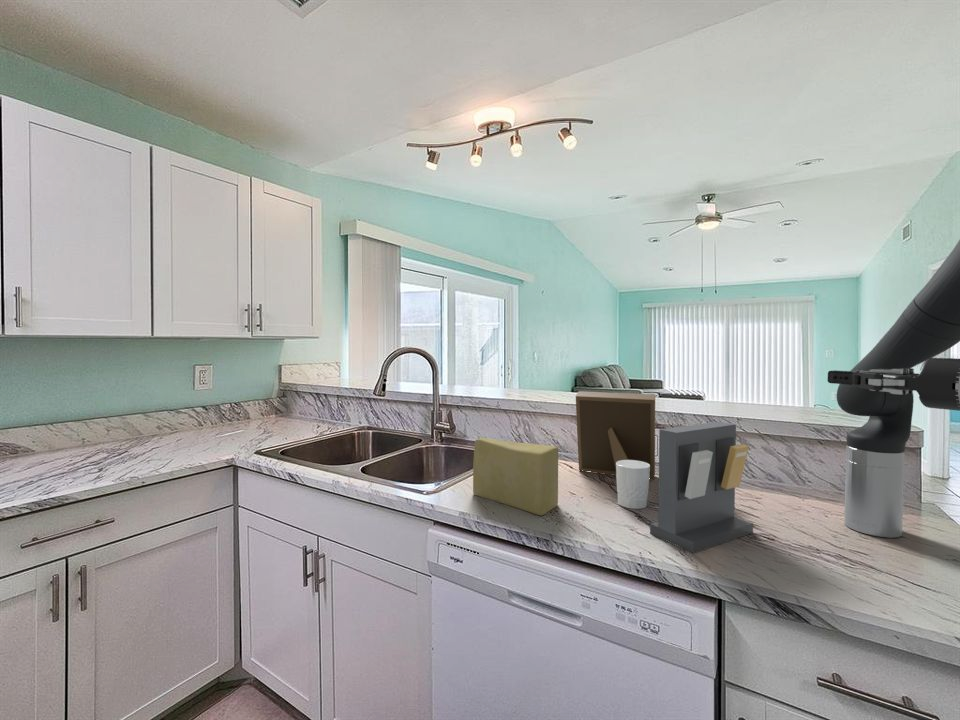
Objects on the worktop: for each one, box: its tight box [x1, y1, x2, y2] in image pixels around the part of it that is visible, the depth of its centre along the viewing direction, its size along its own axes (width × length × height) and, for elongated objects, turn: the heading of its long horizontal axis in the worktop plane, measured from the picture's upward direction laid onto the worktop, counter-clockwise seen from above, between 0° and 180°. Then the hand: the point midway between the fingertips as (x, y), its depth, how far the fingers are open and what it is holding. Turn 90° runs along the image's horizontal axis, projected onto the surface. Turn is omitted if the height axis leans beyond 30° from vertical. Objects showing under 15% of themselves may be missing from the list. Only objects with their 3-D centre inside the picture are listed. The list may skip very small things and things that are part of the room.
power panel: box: [649, 421, 754, 554], centre depth 93 cm, size 19×10×22 cm, turn 118°
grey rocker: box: [685, 450, 713, 499], centre depth 87 cm, size 4×1×9 cm, turn 118°
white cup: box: [615, 460, 650, 510], centre depth 110 cm, size 8×8×10 cm
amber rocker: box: [721, 443, 750, 490], centre depth 92 cm, size 4×1×9 cm, turn 118°
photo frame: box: [575, 390, 656, 480], centre depth 131 cm, size 15×22×25 cm
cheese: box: [472, 437, 559, 516], centre depth 112 cm, size 22×10×15 cm, turn 55°
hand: (829, 376), depth 79 cm, fingers closed
